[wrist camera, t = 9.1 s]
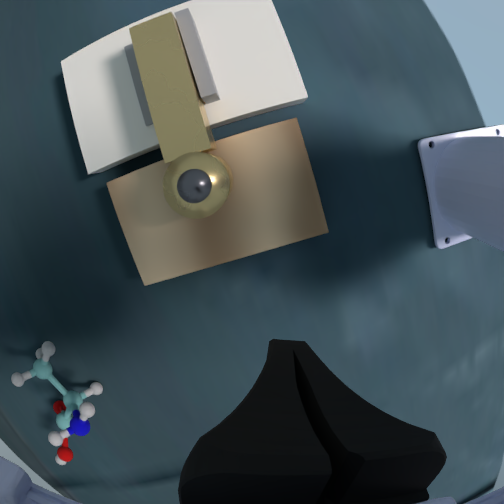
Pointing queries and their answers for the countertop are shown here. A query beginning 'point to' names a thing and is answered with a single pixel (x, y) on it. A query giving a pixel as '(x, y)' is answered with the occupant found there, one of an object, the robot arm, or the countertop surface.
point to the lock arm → (180, 120)
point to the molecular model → (62, 403)
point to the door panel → (204, 69)
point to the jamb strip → (224, 206)
